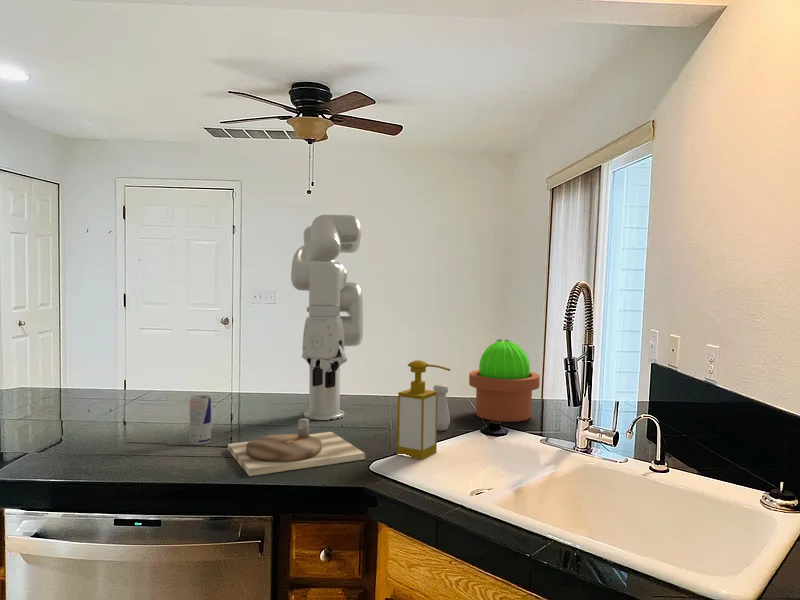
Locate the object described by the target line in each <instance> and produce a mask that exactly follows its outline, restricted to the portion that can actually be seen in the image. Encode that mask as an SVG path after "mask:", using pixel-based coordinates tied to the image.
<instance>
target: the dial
mask: <svg viewBox="0 0 800 600" xmlns="http://www.w3.org/2000/svg"><path fill="white" fill-rule="evenodd" d="M297 422H298V423H297V424H298V427H297V428H298V431H297V433H280V434H269V435H264V436H260V437H257V438H254V439H251V440H250V441H247V442H248V443H247V445H246V453H247V455H249V456H250V457H252V458H255V459H260V460H266V461H291V460H299V459H304V458H308V457H311V456H314V455H316V454H318V453H319V452H320V451H321V449H322V442H321V440H320V439H318V438H316V437H313V436H310V435H309V434H310V432H309V431H310V419H308V418H306V417H304V418H303V417H302V418H299V419H298V421H297Z"/></svg>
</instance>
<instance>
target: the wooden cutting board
mask: <svg viewBox="0 0 800 600" xmlns="http://www.w3.org/2000/svg"><path fill="white" fill-rule="evenodd" d="M309 435H310V436H313V437H316V438H318V439H320V440H321V442H322V449H321V451H320V452H319V453H318V454H316V455H314V456H311V457H308V458H304V459H299V460H291V461H266V460H260V459H255V458H252V457H250V456H249V455H247V453H246V445H247V443H248V442H249V441H243V442H241V441H240V442H234V443H228V444H227V451H228V452H229V453H230V454H231V456H232V457H233V459H235V460H236V461H237V463H238V464H239V465H240V466H241V468H242V469H243V470H244V472H245V473H246V474H247V475H248V476H249V477H252V476H261V475H266V474H267V475H268V474H272V473H273V474H274V473H279V472H286V471H287V472H288V471H294V470H295V471H296V470H301V469H307V468H314V467H315V468H316V467H321V466H329V465H335V464H341V463H349V462H356V461H362V460H366V453H365V452H363V450H361V449H359V448H358V447H356V446H354V445H353V444H352V443H350V442H348V441H347V440H345V439H344V438H343V437H340V436H339V435H337V434H336V433H335V432H332V431H327V432H317V433H309Z"/></svg>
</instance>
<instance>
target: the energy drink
mask: <svg viewBox="0 0 800 600" xmlns="http://www.w3.org/2000/svg"><path fill="white" fill-rule="evenodd" d="M211 441H212V398H211V396H210V395H204V394H203V395H194V396H191V397H190V399H189V443H190V444H191V445H194V446H203V445H207V444H209V443H211Z"/></svg>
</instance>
